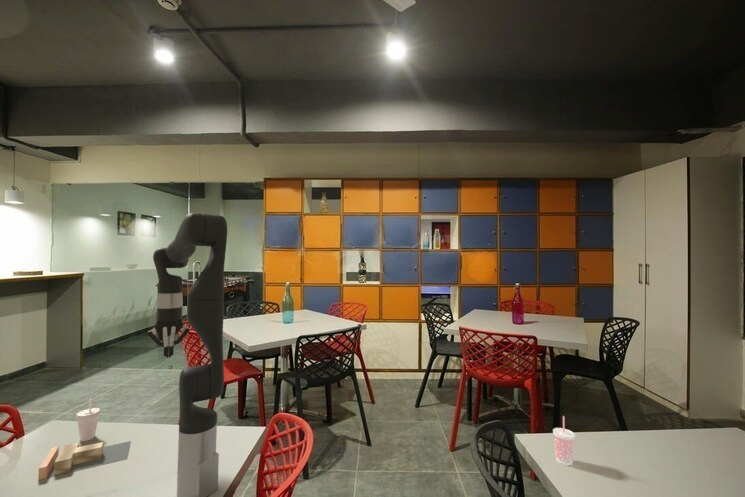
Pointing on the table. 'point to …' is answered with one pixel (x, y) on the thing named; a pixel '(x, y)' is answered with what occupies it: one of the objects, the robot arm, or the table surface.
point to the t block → (76, 456)
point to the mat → (108, 456)
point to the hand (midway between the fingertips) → (168, 357)
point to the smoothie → (87, 422)
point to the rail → (48, 463)
